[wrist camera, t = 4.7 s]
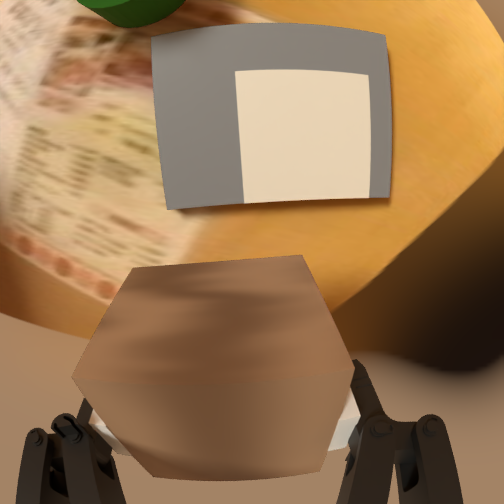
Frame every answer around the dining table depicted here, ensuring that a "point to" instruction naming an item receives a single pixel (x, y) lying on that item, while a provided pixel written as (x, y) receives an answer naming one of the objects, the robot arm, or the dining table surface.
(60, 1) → the dining table surface
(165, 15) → the candle
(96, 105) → the dining table surface
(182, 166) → the board
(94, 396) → the block
